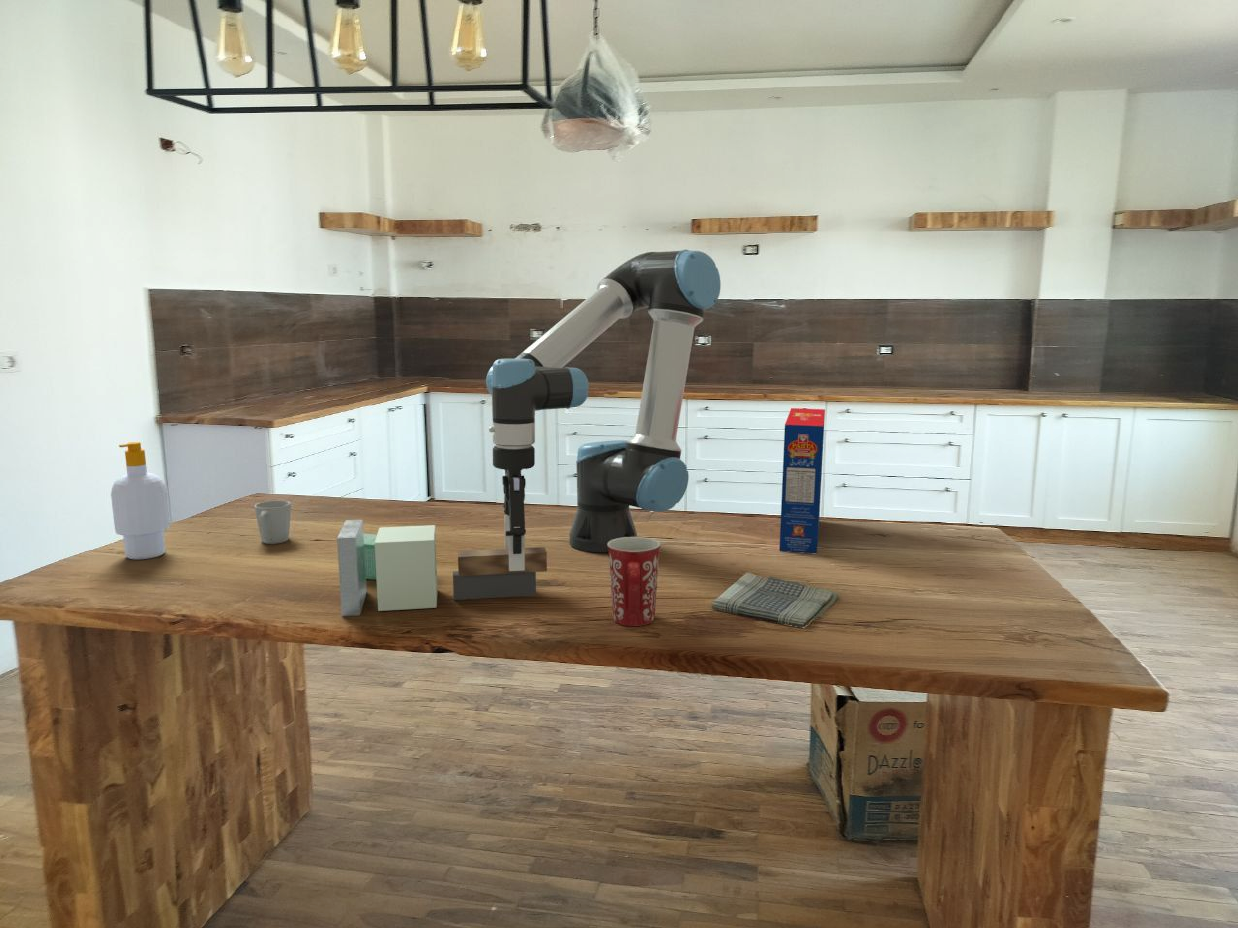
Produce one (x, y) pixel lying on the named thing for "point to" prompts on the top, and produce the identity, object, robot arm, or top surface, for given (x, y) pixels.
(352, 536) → the grey base plate
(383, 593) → the block
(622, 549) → the mug
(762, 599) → the dish towel
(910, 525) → the top surface
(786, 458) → the pasta box
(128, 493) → the soap bottle
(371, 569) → the box
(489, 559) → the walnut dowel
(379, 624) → the top surface
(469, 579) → the rubber rail
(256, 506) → the cup
